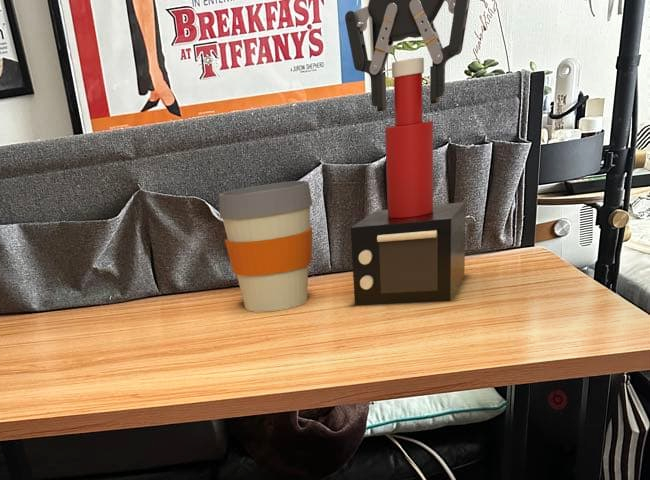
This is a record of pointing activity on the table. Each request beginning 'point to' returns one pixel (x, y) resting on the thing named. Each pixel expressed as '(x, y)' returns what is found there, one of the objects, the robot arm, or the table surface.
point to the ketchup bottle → (409, 146)
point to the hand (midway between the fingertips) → (408, 106)
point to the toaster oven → (409, 256)
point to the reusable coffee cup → (269, 243)
